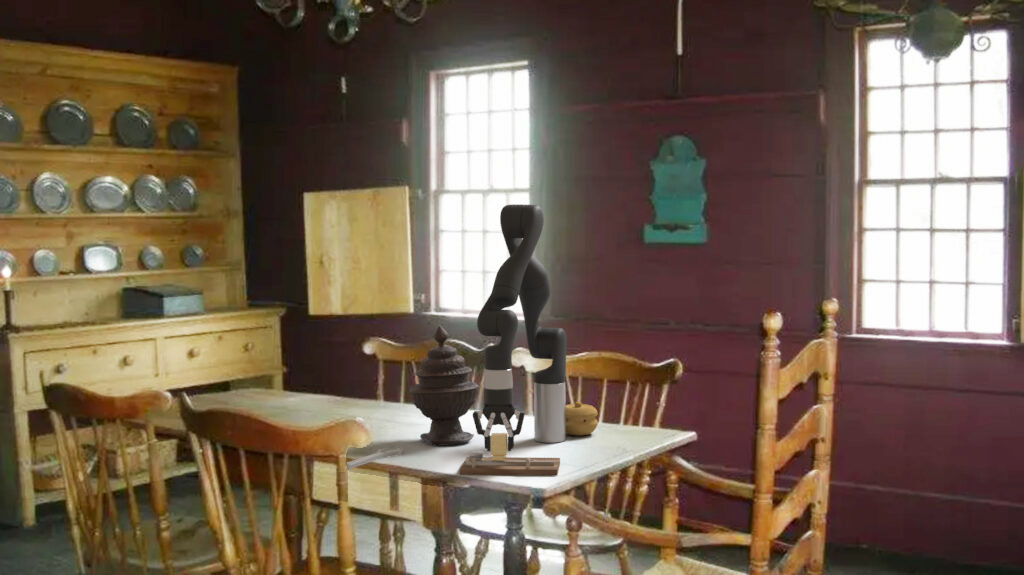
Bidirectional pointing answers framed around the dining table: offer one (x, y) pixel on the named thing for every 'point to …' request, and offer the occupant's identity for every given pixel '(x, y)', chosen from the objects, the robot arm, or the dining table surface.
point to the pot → (580, 419)
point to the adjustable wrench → (374, 457)
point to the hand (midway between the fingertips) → (499, 450)
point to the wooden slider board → (508, 465)
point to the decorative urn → (444, 393)
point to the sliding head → (499, 446)
